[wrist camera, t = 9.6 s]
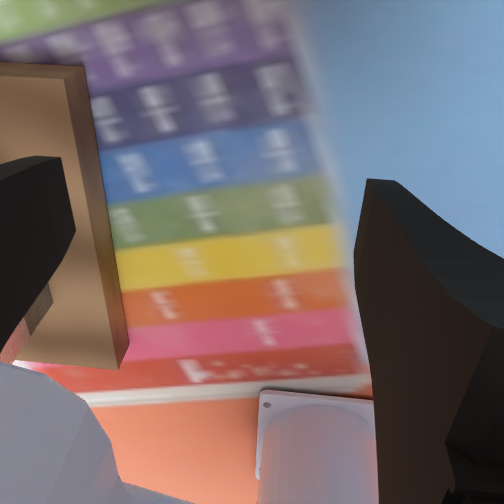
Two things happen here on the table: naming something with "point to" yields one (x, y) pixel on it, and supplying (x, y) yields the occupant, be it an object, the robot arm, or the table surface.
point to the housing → (27, 326)
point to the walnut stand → (84, 212)
